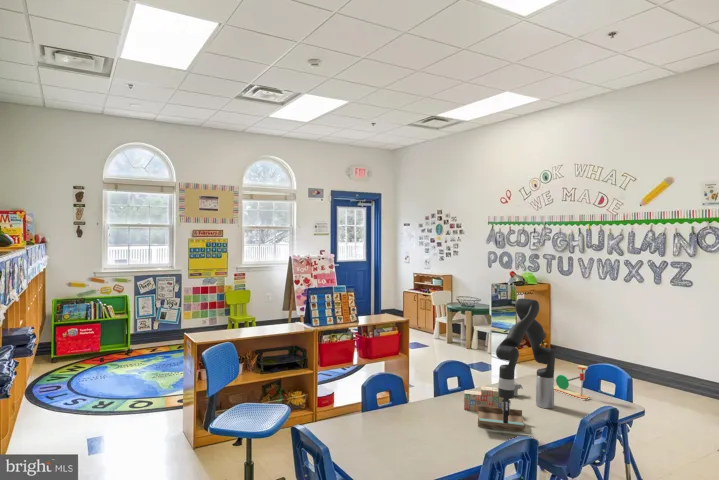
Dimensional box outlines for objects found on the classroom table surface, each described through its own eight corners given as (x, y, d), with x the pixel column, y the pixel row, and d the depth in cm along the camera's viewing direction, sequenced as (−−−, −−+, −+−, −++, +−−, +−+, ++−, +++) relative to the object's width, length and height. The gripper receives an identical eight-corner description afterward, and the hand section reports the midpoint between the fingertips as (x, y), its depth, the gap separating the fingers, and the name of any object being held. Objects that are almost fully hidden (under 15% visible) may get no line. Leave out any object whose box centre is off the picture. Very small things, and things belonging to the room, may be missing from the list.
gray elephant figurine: (500, 395, 284) (500, 382, 284) (512, 390, 292) (512, 378, 291) (514, 399, 277) (514, 387, 277) (525, 394, 284) (525, 382, 284)
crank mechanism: (590, 399, 280) (591, 367, 279) (583, 400, 276) (584, 368, 276) (554, 387, 301) (555, 357, 301) (548, 388, 298) (548, 358, 298)
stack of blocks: (463, 410, 258) (464, 387, 258) (464, 406, 264) (464, 384, 264) (504, 414, 252) (504, 391, 252) (503, 410, 259) (503, 388, 258)
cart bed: (521, 422, 241) (521, 410, 241) (523, 431, 229) (524, 418, 229) (478, 417, 246) (478, 405, 246) (478, 426, 235) (478, 413, 235)
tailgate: (523, 422, 229) (524, 425, 221) (523, 425, 228) (524, 428, 221) (479, 417, 234) (479, 420, 226) (479, 420, 234) (479, 423, 226)
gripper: (515, 391, 218) (514, 428, 218) (513, 384, 231) (512, 419, 231) (499, 390, 220) (498, 426, 220) (497, 382, 233) (496, 417, 233)
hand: (505, 422), depth 225 cm, fingers closed
